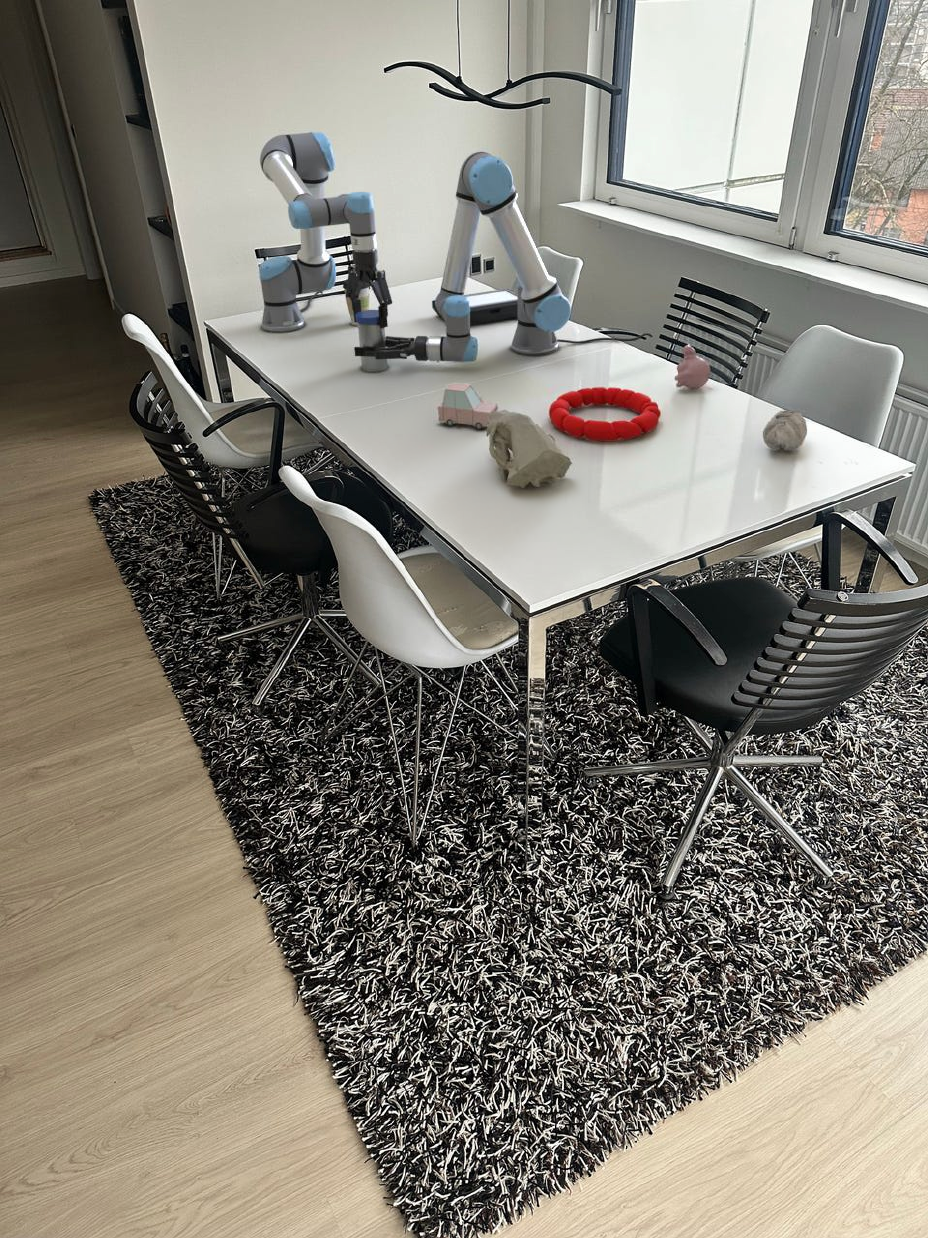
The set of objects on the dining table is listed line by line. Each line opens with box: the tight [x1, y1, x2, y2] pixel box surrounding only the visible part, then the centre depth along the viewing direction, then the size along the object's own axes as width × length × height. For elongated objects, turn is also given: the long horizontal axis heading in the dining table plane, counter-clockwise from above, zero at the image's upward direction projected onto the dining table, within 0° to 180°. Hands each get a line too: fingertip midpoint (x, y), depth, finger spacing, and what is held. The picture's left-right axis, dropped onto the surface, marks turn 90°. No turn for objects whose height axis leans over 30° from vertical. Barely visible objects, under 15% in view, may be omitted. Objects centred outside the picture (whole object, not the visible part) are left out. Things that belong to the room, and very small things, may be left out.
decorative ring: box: [548, 386, 661, 442], centre depth 242 cm, size 7×30×30 cm
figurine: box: [674, 344, 711, 390], centre depth 259 cm, size 9×11×12 cm
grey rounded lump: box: [762, 410, 808, 451], centre depth 223 cm, size 10×15×10 cm
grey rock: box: [485, 409, 573, 489], centre depth 216 cm, size 17×25×20 cm
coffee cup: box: [342, 278, 371, 327], centre depth 323 cm, size 10×10×15 cm
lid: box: [356, 309, 379, 324], centre depth 277 cm, size 9×9×2 cm
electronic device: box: [431, 288, 518, 326], centre depth 328 cm, size 32×6×20 cm
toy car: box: [437, 382, 499, 431], centre depth 243 cm, size 9×15×10 cm, turn 70°
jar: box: [357, 323, 388, 373], centre depth 282 cm, size 8×8×16 cm
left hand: (370, 324), depth 279 cm, fingers open, 10 cm apart
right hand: (358, 346), depth 283 cm, fingers closed on jar, 8 cm apart
